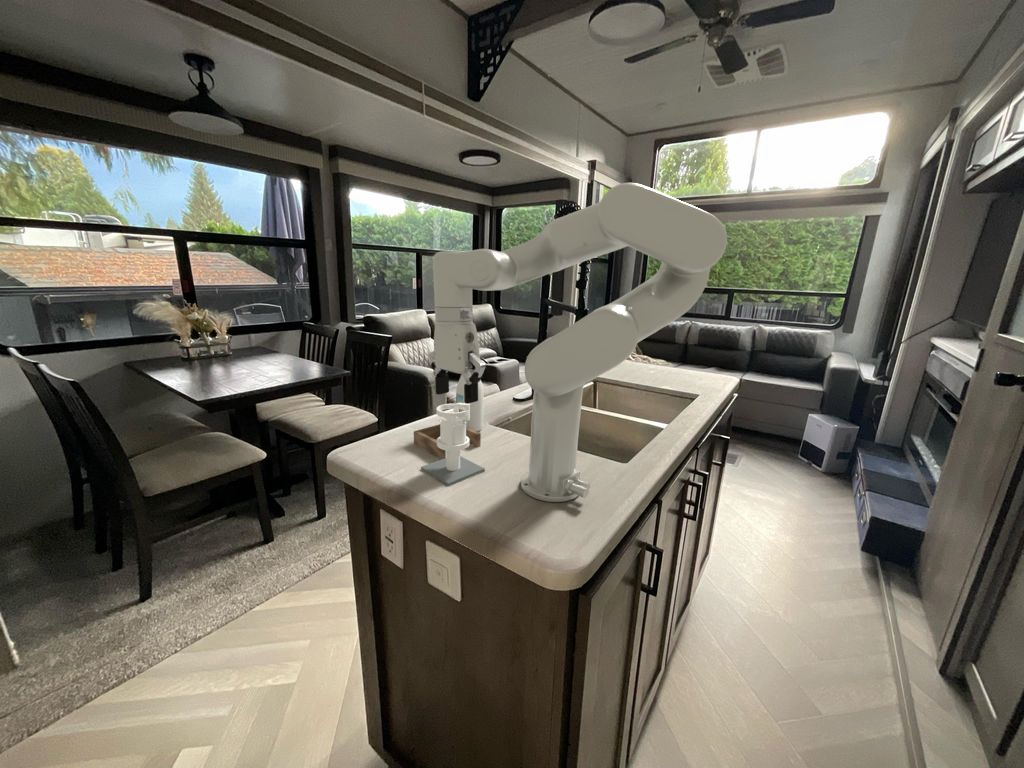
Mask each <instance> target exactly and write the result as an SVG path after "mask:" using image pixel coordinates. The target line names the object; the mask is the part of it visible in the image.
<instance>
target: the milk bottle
mask: <svg viewBox="0 0 1024 768" xmlns="http://www.w3.org/2000/svg"><path fill="white" fill-rule="evenodd" d="M469 376H470V377H471V373H469ZM464 384H467V383H466V381H465V379H464V378H463V376H462V374H460V377H459V380H458V383H457V385H456V389H455V391H456V392H455V404H457V403H465V402H464ZM484 398H485V397H484V385H483V382H482V380H481V379H480V382H479V383H478V401H476V402H473V403H469V404H470V420H469V421H465V420H463V424H464V423H465V422H466V427H467V428H469V429H472V430H474V431H476V432H481V431H482V429H483V428H484ZM463 411H465V410H461V409H459V412H463Z"/></svg>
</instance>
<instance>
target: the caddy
mask: <svg viewBox="0 0 1024 768" xmlns="http://www.w3.org/2000/svg"><path fill="white" fill-rule="evenodd" d="M466 436H467V437H468V438H469V445H472V446H474V447H476V448H479V447H481V441H482V440H481V438H482V437H481V436H482V435H481V432H480V431H478V432H476V431H474V430H472V429H469V428H467V427H466ZM439 437H440V423H439V424H436V425H431V426H428V427H424V428H422V429H417V430H413V445H415V446H417V447H419V448H420V449H421V450H424V451H426V452H427V453H429V454H431V455H434V456H435V457H437V458H439V459H440V460H442V459H445V458H446V450H442V449H440V448H438V447H437V439H438V438H439Z"/></svg>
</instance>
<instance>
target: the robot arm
mask: <svg viewBox="0 0 1024 768" xmlns="http://www.w3.org/2000/svg"><path fill="white" fill-rule="evenodd" d="M727 244H728V235H727V230H726V228H725V225H724V224H723V223H722V222H721V220H720V219H718V218H717V216H715V215H713V214H712V213H710V212H708V211H706V210H703V209H701V208H698V207H696V206H694V205H692V204H689V203H687V202H684V201H681V200H679V199H677V198H674V197H672V196H670V195H668V194H665V193H662V192H661V191H658V190H657V189H656V190H655V189H654V188H651V187H649V186H646V185H643V184H640V183H637V182H623V183H619V184H617V185H615V186H613V187H611V188H610V189H609V190H608V191H607V192H606V193H605V194H604V195H603V196H602V198H601V200H600V201H599V202H596V203H594V204H592V205H590V206H587V207H584V208H582V209H579V210H576V211H573V212H571V213H568V214H567V215H564V216H560V217H557V218H555V219H553V220H551V221H550V222H548V223H547V224H546V226H544V228H543V229H542V230H541V231H540V232H539V234H537V235H536V236H535V237H533V238H531V239H530V240H528V241H525V242H523V243H521V244H519V245H516V246H513V247H511V248H508V249H505V250H502V251H498V250H494V249H491V248H490V249H489V248H479V249H478V248H477V249H474V250H473V249H472V250H467V251H457V250H451V251H450V250H448V251H447V250H445V251H438V252H436V253H435V254H434V255H433V258H432V269H433V273H432V274H433V293H434V295H433V296H434V299H433V300H434V320H435V321H434V322H435V323H434V334H433V335H434V336H433V351H432V352H430V353H429V354H428V358H429V361H430V363H431V364H430V366H431V368H432V370H433V372H432V375H433V376H434V381H435V382H434V383H435V394H436V395H444V394H448V393H449V392H450V380H449V379H450V377H449V374H448V372H449V373H454V374H457V375H458V374H460V375H462V376H463V378H464V379H465V381H466V383H467V384H464V402H465V403H466V404H469V403H473V402H476V401H478V383H479V382H480V380H481V379H482V378H483V377H484V373H485V372H484V371H485V369H486V367H487V366H486V363H485V362H484V361H483V360H482V359H481V357H480V355H481V354H480V343H479V336H478V335H479V334H478V331H477V327H476V323H474V322H473V321H474V320H473V319H474V318H473V317H474V313H473V290H477V291H485V292H487V291H489V292H490V291H491V292H492V291H504V290H507V289H511V288H513V287H516V286H518V285H522V284H525V283H528V282H531V281H532V280H536V279H538V278H541V277H542V278H543V277H544V276H546V275H549V274H552V273H556V272H559V271H562V270H564V269H566V268H569V267H570V268H571V267H572V266H575V265H577V264H581V263H584V262H585V261H589V260H592V259H595V258H597V257H601V256H603V255H606V254H611V253H612V252H616V251H619V250H621V249H624V248H627V247H629V248H631V249H632V250H633V249H634V250H635V251H638V252H640V253H642V254H644V255H646V256H649V257H651V258H653V259H656V260H658V261H660V262H661V264H660V266H659V268H658V270H657V272H656V273H655V274H654V275H653V276H652V277H650V278H649V279H647V280H646V281H644V282H643V283H641V284H639V285H638V286H636V287H635V288H634V289H632V290H630V291H629V292H627V293H625V294H624V295H622V296H620V297H619V298H617V299H615V300H614V301H612V302H611V303H608V304H606V305H602V306H600V307H599V308H596V309H593V311H591V312H590V313H589V314H587V315H585V316H584V317H582V318H581V319H579V320H578V321H576V322H574V323H572V324H571V325H570V326H567V327H566V328H565V329H563V330H561V331H559V332H558V333H557V334H555V335H553V336H549V337H548V338H546V339H544V340H543V341H541V343H539V344H538V345H536V346H535V347H534V348H533V349H532V350H531V351H530V352H529V354H528V355H527V357H526V360H525V362H524V377H525V380H526V382H527V384H528V386H529V387H530V388H531V389H532V390H533V397H532V413H531V425H530V426H531V427H530V445H529V446H530V448H529V464H528V472H527V471H526V473H524V474H523V475H522V477H521V479H520V486H521V489H522V491H523V492H524V493H526V495H528V496H529V497H531V498H533V499H536V500H540V501H543V502H548V503H552V502H553V503H561V502H567V501H571V500H573V499H576V498H577V497H581V498H583V499H586V498H587V497H588V495H589V492H590V491H589V489H590V487H591V483H590V482H587V481H586V480H585V481H584V480H581V478H580V476H581V470H578V469H576V467H577V456H578V444H579V432H580V422H581V414H582V411H581V410H582V401H583V392H584V385H585V384H587V383H589V382H590V381H592V380H594V379H596V378H598V377H599V376H602V375H604V374H605V373H607V372H609V371H611V370H613V369H614V368H615V367H617V366H618V365H621V364H622V363H623V362H625V361H626V360H628V359H629V358H630V356H631V355H632V354H633V353H634V351H635V350H636V348H637V345H638V343H639V342H641V341H643V340H644V339H646V338H648V337H650V336H651V335H653V334H655V333H657V332H658V331H659V330H662V329H663V328H664V327H666V326H668V325H670V324H672V323H673V322H674V321H676V320H678V319H679V318H681V317H682V316H683V315H685V314H686V313H687V312H689V310H691V309H692V307H693V306H695V304H696V303H697V301H698V300H699V299H700V297H701V296H702V295H703V292H704V290H705V288H706V287H707V283H708V281H709V277H710V273H711V268H712V267H713V266H715V265H716V264H717V263H718V262H719V261H720V259H721V258H722V257H723V255H724V253H725V252H726V248H727ZM469 373H471V377H470V376H469Z"/></svg>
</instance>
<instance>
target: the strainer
mask: <svg viewBox="0 0 1024 768" xmlns="http://www.w3.org/2000/svg"><path fill="white" fill-rule="evenodd" d="M459 409H461V410H465V411H463V412H459ZM445 410H453V412H449V411H445ZM436 415H437V416H438V417H440V420H439V421H440V423H439V424H440V437H439V438H438V439H436V440H437V447H438V448H440V449H442V450H446V469H447V470H450V471H455V470H459V469H460V456H461V451H462V450H465V449H468V448H469V447H470V443H469V438H468V437H467V436H466V422H465V423H464V424H463V420H465V421H469V420H470V404H466V403H457V404H456V403H445V404H440V405H438V406H437V407H436Z"/></svg>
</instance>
